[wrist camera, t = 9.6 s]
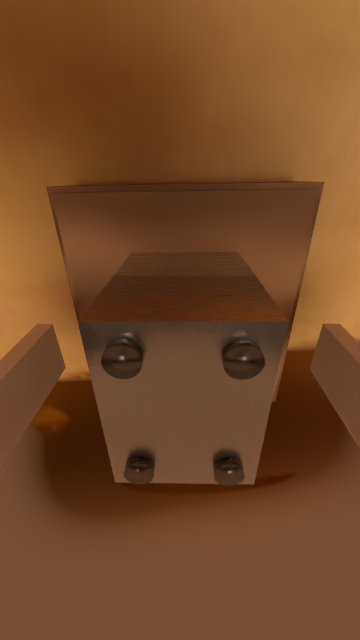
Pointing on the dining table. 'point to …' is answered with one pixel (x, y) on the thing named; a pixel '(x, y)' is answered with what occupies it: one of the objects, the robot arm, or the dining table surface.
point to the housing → (184, 367)
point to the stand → (188, 231)
